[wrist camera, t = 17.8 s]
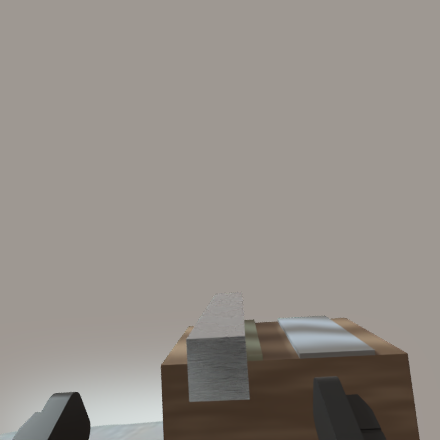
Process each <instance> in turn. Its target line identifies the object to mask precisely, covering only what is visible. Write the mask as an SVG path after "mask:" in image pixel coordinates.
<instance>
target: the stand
mask: <svg viewBox="0 0 440 440" xmlns="http://www.w3.org/2000/svg"><path fill="white" fill-rule="evenodd" d="M244 326H245V340H246V354H247V368H248V382H249V396H250V400H225V401H200V402H189V386H188V366H187V345H186V339H187V337H188V336H189V334H190V332H191V331H192V329H193V328H194V326H189V327H188V329H187V330H186V331H185V333H184V334H183V335H182V337H181V338H180V340H179V341H178V342H177V344H176V345H175V346H174V348H173V349H172V351H171V352H170V353H169V355H168V356H167V358H166V359H165V360H164V362H163V363H162V364H161V380H162V402H163V404H162V405H163V431H164V440H319V438H318V435H317V431H316V427H315V422H314V416H313V380H314V378H315V377H332V376H337V377H338V378H339V380H340V382H341V384H342V387H343V389H344V392H345V394H346V395H352V394H358V395H359V396H360V397H361V398H362V399H363V400H364V401H365V402H366V403H367V404H368V406H369V407H370V408H371V409H372V410H373V412H374V414H375V417H376V419H377V421H378V423H379V425H380V427H381V431H382V432H383V433H384V435H385V437H386V439H387V440H420V439H419V432H418V426H417V418H416V411H415V404H414V396H413V389H412V382H411V375H410V368H409V361H408V354H407V353H406V352H404V351H402V350H400V349H399V348H397V347H395V346H394V345H392V344H390V343H388V342H387V341H385V340H383V339H381V338H379V337H378V336H376V335H374V334H373V333H371V332H369V331H367V330H366V329H364V328H362V327H360V326H358V325H357V324H355V323H353V322H352V321H350V320H348V319H347V318H336V319H329V318H328V317H326V316H312V317H295V318H278V322H263V323H255V322H254V320H244Z"/></svg>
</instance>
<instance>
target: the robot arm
mask: <svg viewBox="0 0 440 440" xmlns="http://www.w3.org/2000/svg"><path fill="white" fill-rule="evenodd" d="M313 416H314V422H315V427H316V431H317V435H318V438H319V440H387V439H386V437H385V435H384V433H383V432H382V431H381V427H380V425H379V423H378V421H377V419H376V417H375V414H374V412H373V410H372V409H371V408H370V407H369V406H368V404H367V403H366V402H365V401H364V400H363V399H362V398H361V397H360V396H359V395H358V394H352V395H346V394H345V392H344V389H343V387H342V384H341V382H340V380H339V378H338V377H337V376H332V377H315V378H314V380H313ZM89 435H90V420H89V418H88V415H87V412H86V410H85V407H84V404H83V402H82V399H81V396H80V394H79V393H78V392H69V393H55V394H53V395H52V396H51V397H50V398H49V400H48V401H47V403H46V405H45V406H44V408H43V410H42V412H36V413H35V414H33V416H32V417H31V418H30V419H29V420H28V421H27V422H26V423H25V424H24V425H23V426H22V427H21V428H20V429H19V430H18V432H17V433H16V435H15V436H14V438H13V440H88V439H89Z"/></svg>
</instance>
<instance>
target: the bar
mask: <svg viewBox="0 0 440 440" xmlns="http://www.w3.org/2000/svg"><path fill="white" fill-rule="evenodd" d="M186 345H187V366H188V386H189V402H200V401H225V400H250V396H249V382H248V368H247V354H246V340H245V326H244V312H243V299H242V292H237V293H220V294H215V296H214V297H213V299H212V300H211V302H210V303H209V305H208V307H207V308H206V310H205V311H204V312H203V314H202V316H201V317H200V319H199V320H198V322H197V323H196V325H195V326H194V328H193V329H192V331H191V332H190V334H189V336H188V337H187V339H186Z"/></svg>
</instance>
